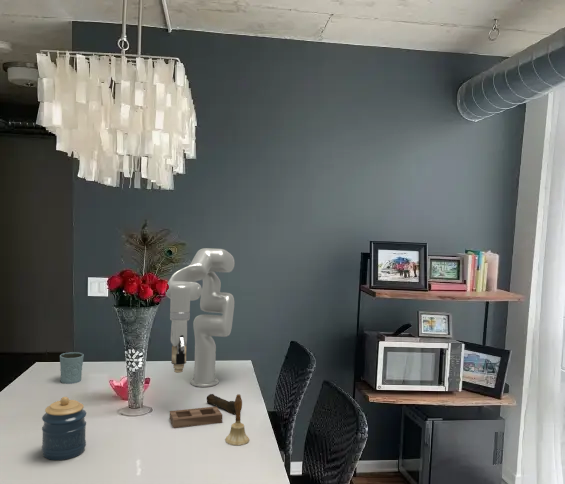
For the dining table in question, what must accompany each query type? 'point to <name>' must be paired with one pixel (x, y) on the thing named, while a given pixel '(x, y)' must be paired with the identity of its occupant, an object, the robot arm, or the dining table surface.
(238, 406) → the hand bell
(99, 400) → the dining table surface
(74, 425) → the canister
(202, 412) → the walnut board
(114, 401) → the dining table surface
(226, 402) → the hand tool
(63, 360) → the grey embossed cup
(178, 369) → the oak peg
